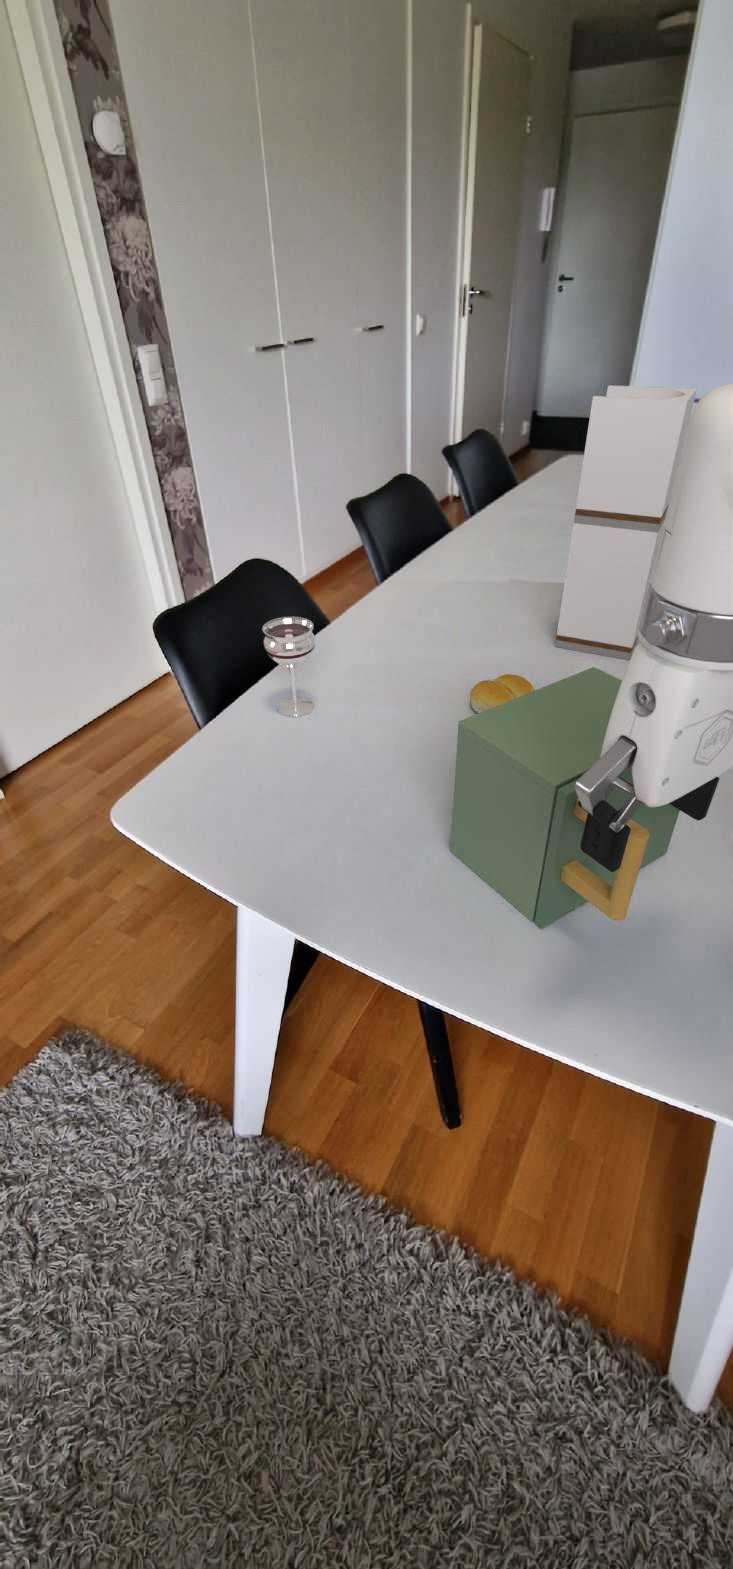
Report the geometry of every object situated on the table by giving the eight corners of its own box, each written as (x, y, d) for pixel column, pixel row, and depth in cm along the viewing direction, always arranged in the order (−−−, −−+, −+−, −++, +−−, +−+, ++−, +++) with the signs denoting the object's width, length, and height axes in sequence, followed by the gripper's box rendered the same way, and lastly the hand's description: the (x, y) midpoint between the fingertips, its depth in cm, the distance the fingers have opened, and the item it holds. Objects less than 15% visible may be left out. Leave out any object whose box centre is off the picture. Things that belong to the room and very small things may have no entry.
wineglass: (323, 696, 100) (318, 617, 93) (315, 721, 95) (309, 639, 88) (277, 694, 101) (268, 615, 94) (266, 719, 96) (256, 637, 88)
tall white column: (640, 632, 115) (696, 389, 94) (629, 660, 107) (687, 401, 86) (570, 621, 119) (609, 385, 98) (554, 646, 111) (592, 397, 90)
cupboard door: (721, 888, 68) (774, 755, 59) (594, 975, 60) (632, 837, 51) (658, 847, 73) (698, 718, 64) (533, 922, 65) (557, 788, 56)
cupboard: (656, 846, 73) (696, 715, 64) (531, 921, 66) (555, 785, 56) (569, 790, 81) (593, 666, 72) (449, 851, 74) (458, 721, 64)
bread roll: (458, 700, 98) (460, 675, 96) (512, 686, 101) (515, 661, 99) (490, 729, 92) (493, 702, 90) (547, 713, 95) (551, 687, 93)
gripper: (668, 687, 36) (604, 914, 46) (847, 606, 43) (757, 817, 54) (559, 634, 41) (523, 851, 51) (736, 570, 48) (674, 770, 59)
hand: (643, 833), depth 53 cm, fingers open, 9 cm apart
